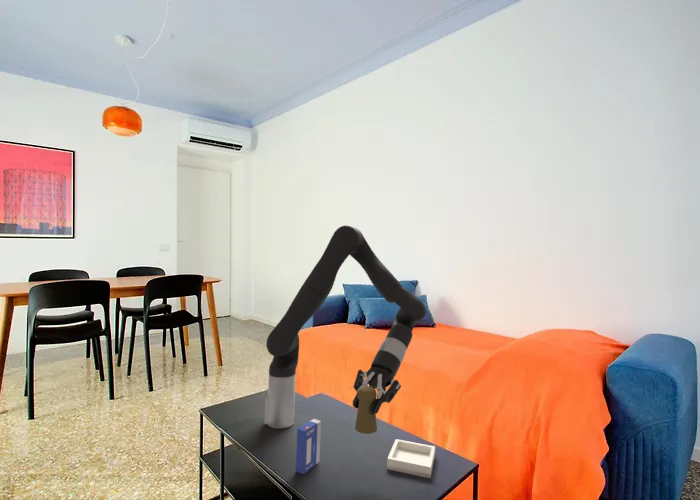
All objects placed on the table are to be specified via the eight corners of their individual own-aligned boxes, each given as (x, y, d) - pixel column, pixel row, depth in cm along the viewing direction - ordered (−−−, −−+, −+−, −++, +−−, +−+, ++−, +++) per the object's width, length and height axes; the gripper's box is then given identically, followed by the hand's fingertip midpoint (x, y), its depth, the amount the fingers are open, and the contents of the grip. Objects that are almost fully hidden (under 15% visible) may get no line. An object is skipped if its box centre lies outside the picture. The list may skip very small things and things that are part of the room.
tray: (387, 469, 106) (387, 458, 106) (395, 448, 118) (395, 438, 118) (430, 478, 103) (430, 467, 103) (435, 456, 114) (435, 446, 114)
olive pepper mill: (353, 423, 106) (354, 384, 106) (375, 423, 106) (376, 384, 107) (356, 433, 100) (357, 392, 100) (378, 433, 100) (379, 391, 101)
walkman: (303, 474, 102) (305, 430, 102) (295, 471, 104) (297, 427, 104) (320, 461, 109) (321, 419, 109) (312, 458, 110) (313, 417, 111)
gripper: (364, 344, 114) (337, 395, 105) (406, 354, 105) (380, 411, 96) (374, 359, 118) (348, 409, 109) (415, 369, 109) (390, 425, 100)
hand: (363, 410), depth 102 cm, fingers closed on olive pepper mill, 5 cm apart
